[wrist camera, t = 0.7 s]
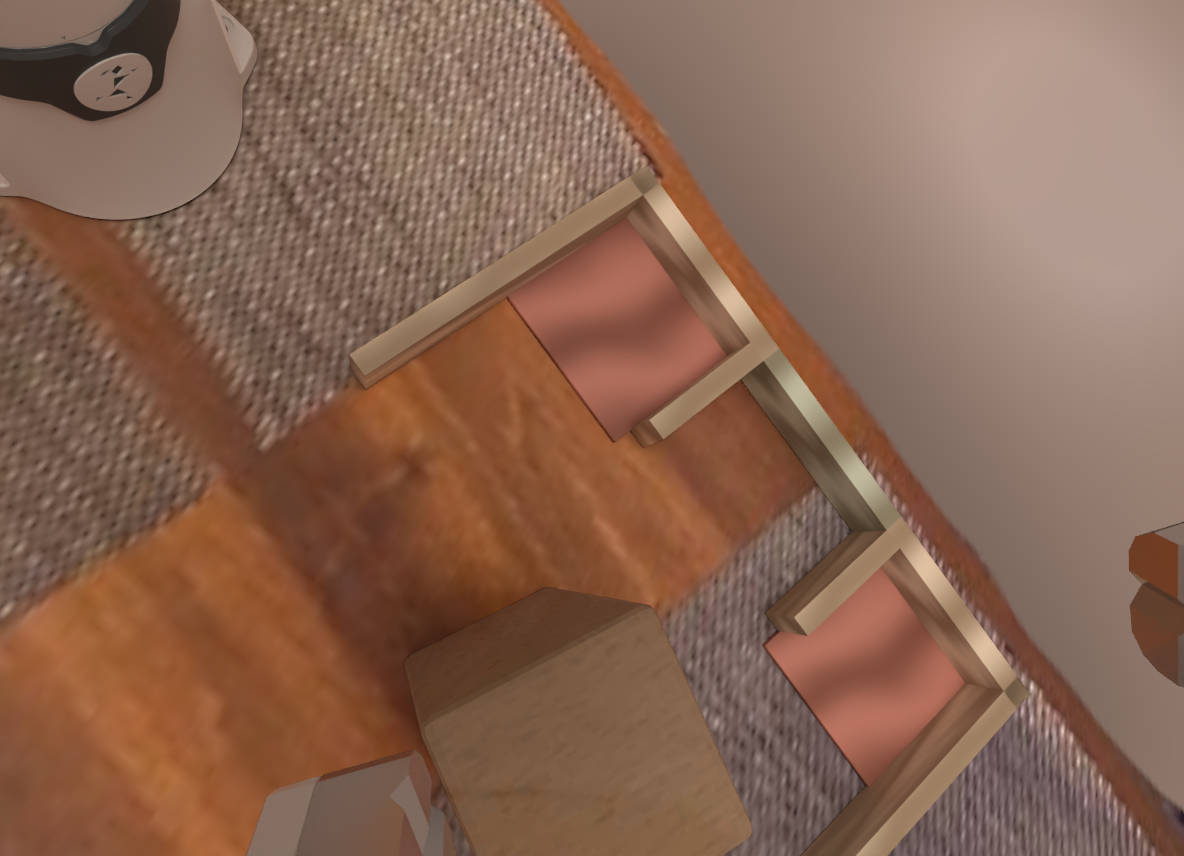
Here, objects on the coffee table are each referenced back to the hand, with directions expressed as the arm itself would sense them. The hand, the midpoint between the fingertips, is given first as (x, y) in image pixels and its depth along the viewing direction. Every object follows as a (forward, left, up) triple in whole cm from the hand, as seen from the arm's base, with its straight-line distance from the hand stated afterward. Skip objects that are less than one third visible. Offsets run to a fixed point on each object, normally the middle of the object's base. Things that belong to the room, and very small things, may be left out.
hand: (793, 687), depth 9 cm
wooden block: (+8, -1, -42) cm, 43 cm away
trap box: (+8, +14, -42) cm, 45 cm away
